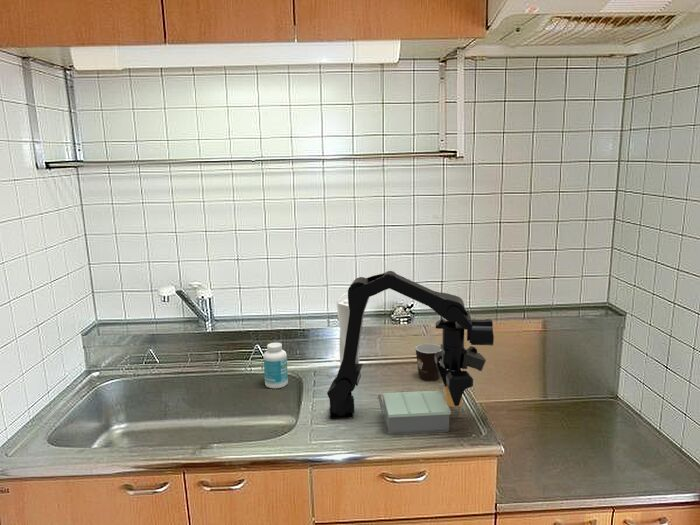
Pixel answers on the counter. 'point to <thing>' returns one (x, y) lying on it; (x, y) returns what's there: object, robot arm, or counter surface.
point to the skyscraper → (343, 324)
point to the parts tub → (414, 423)
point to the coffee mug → (427, 361)
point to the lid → (418, 403)
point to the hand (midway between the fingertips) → (452, 397)
